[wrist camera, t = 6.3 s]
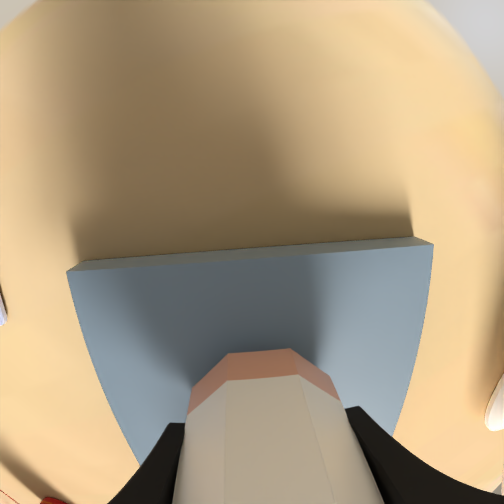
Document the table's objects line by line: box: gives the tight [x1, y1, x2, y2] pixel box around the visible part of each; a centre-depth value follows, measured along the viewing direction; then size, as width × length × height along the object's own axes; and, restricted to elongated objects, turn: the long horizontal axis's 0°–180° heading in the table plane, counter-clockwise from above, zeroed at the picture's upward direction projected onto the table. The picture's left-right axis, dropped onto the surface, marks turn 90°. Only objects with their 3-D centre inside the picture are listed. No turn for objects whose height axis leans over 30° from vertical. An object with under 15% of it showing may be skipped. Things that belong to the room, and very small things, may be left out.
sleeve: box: [172, 348, 384, 504], centre depth 7 cm, size 5×5×6 cm
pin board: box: [66, 237, 434, 466], centre depth 11 cm, size 14×19×4 cm
